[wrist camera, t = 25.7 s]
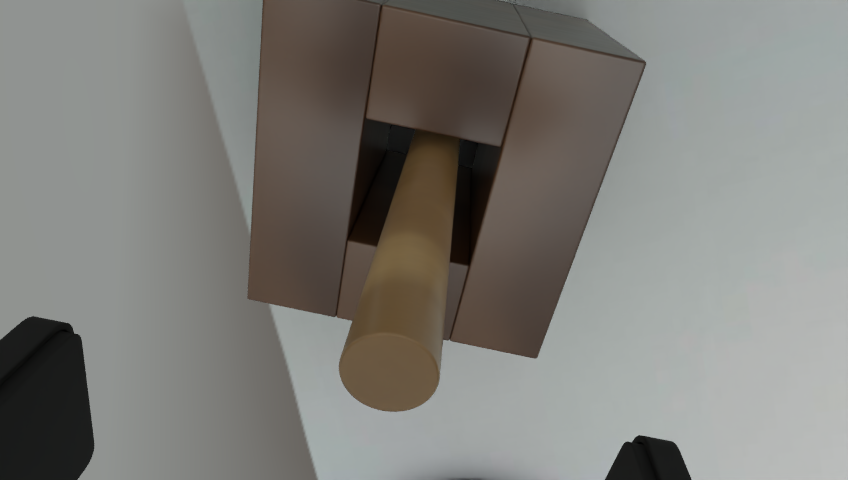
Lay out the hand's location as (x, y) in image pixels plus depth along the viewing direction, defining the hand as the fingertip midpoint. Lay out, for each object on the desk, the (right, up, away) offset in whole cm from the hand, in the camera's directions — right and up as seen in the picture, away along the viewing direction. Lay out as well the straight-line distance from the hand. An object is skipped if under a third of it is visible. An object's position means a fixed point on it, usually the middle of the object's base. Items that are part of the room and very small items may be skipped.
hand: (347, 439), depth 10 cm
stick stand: (+2, +10, +18) cm, 21 cm away
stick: (+2, +10, +18) cm, 21 cm away
